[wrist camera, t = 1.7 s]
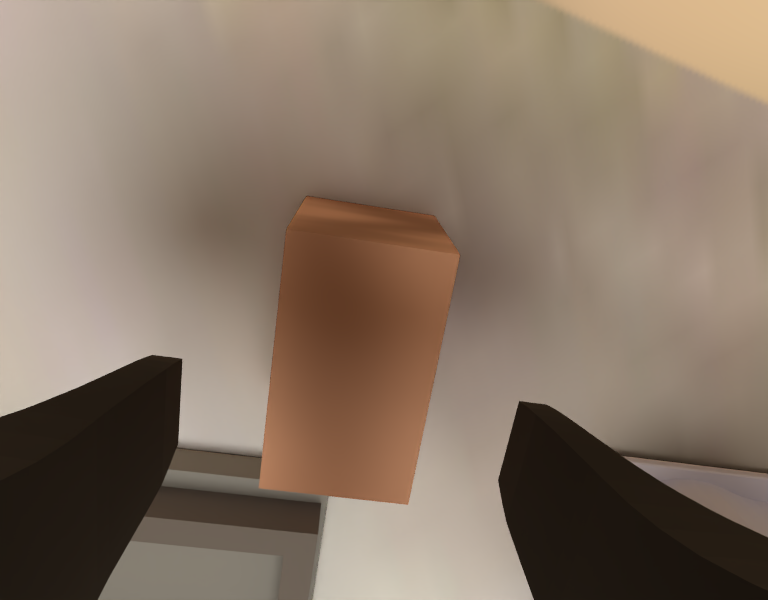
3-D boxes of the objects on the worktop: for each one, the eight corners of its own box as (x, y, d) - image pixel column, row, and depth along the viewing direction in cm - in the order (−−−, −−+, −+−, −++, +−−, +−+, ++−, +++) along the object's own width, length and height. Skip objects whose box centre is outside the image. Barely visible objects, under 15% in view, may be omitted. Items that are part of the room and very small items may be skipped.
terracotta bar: (434, 214, 18) (460, 254, 13) (397, 410, 20) (407, 504, 15) (306, 195, 17) (286, 229, 13) (283, 396, 20) (258, 488, 15)
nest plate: (331, 466, 20) (327, 517, 18) (303, 650, 23) (296, 717, 21) (-17, 426, 19) (-74, 474, 17) (-2, 624, 22) (-49, 691, 20)
